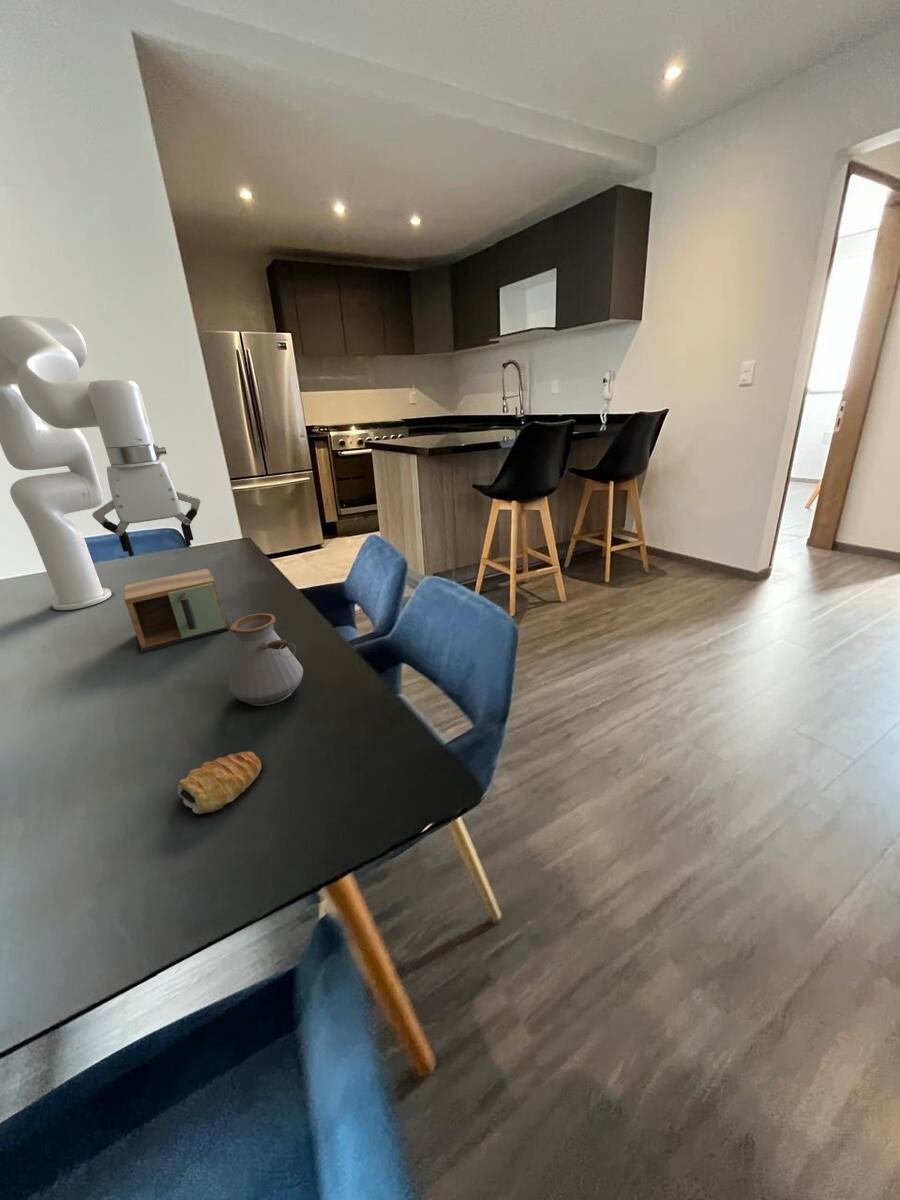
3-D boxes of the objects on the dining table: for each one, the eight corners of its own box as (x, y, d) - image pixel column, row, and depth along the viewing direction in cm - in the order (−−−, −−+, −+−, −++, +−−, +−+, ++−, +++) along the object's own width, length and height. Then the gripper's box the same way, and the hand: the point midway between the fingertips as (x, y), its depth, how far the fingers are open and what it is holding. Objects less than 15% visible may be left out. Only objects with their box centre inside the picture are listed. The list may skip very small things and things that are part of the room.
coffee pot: (224, 691, 82) (201, 609, 76) (291, 666, 88) (275, 589, 82) (266, 757, 66) (241, 659, 60) (344, 721, 72) (328, 630, 66)
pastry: (243, 755, 66) (237, 732, 65) (274, 774, 63) (268, 750, 61) (175, 801, 59) (166, 776, 58) (205, 825, 56) (197, 799, 54)
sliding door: (227, 634, 101) (215, 589, 97) (183, 646, 97) (169, 600, 93) (223, 626, 105) (212, 582, 101) (181, 637, 101) (167, 592, 97)
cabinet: (228, 630, 104) (215, 581, 100) (142, 652, 97) (124, 601, 93) (219, 613, 113) (207, 568, 109) (140, 632, 106) (124, 585, 101)
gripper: (185, 449, 94) (207, 536, 100) (76, 460, 85) (107, 553, 92) (189, 452, 88) (212, 545, 94) (72, 464, 80) (107, 564, 86)
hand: (160, 549), depth 93 cm, fingers open, 9 cm apart
